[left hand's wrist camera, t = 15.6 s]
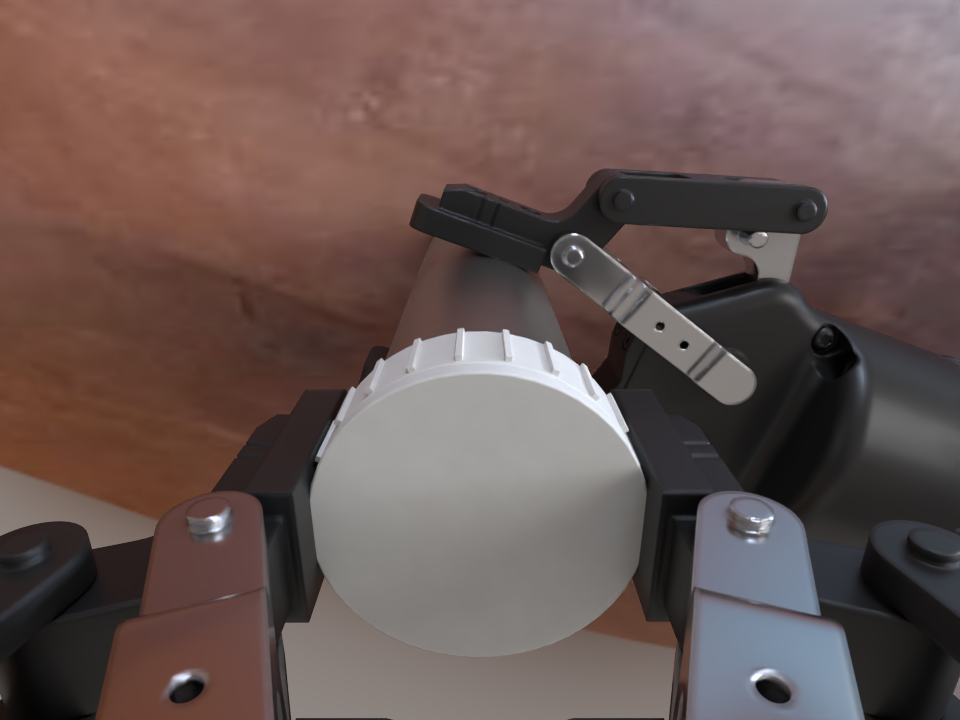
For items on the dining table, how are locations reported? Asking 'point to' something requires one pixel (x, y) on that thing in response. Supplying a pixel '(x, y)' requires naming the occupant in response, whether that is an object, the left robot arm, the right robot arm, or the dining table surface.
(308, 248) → the dining table surface
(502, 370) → the lid
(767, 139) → the dining table surface
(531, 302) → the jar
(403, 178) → the dining table surface
